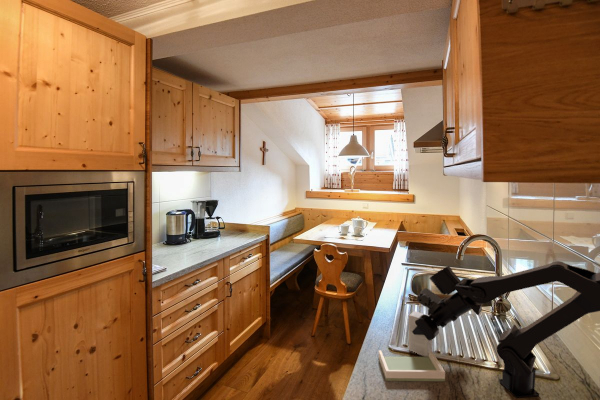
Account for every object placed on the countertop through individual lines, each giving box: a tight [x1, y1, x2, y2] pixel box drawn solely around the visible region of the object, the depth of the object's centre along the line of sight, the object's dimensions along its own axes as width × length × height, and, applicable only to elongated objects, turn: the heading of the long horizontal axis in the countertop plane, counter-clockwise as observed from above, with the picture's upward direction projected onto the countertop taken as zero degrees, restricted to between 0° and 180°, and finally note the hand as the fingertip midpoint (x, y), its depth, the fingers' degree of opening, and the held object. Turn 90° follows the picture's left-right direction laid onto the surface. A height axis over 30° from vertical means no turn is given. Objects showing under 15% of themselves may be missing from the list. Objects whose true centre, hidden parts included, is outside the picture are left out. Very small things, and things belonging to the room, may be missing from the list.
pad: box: [378, 350, 446, 382], centre depth 92 cm, size 16×10×3 cm, turn 88°
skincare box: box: [408, 311, 433, 357], centre depth 100 cm, size 6×4×12 cm
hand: (416, 330), depth 101 cm, fingers closed on skincare box, 4 cm apart
